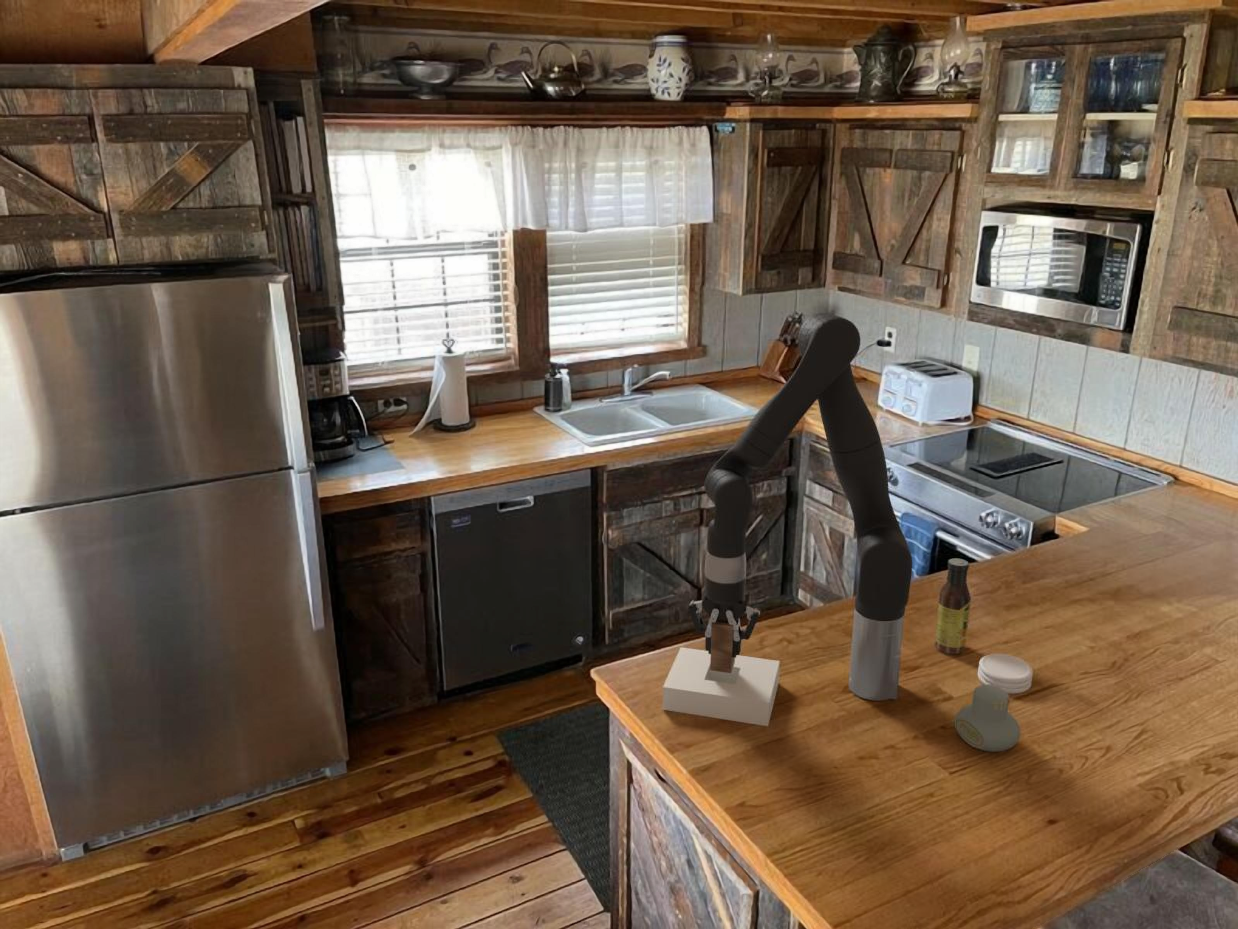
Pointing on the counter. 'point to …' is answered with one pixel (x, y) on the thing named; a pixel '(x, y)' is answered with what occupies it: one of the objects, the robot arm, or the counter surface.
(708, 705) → the socket board
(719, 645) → the peg
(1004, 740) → the air freshener
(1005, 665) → the coaster
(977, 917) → the counter surface
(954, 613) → the sauce bottle
